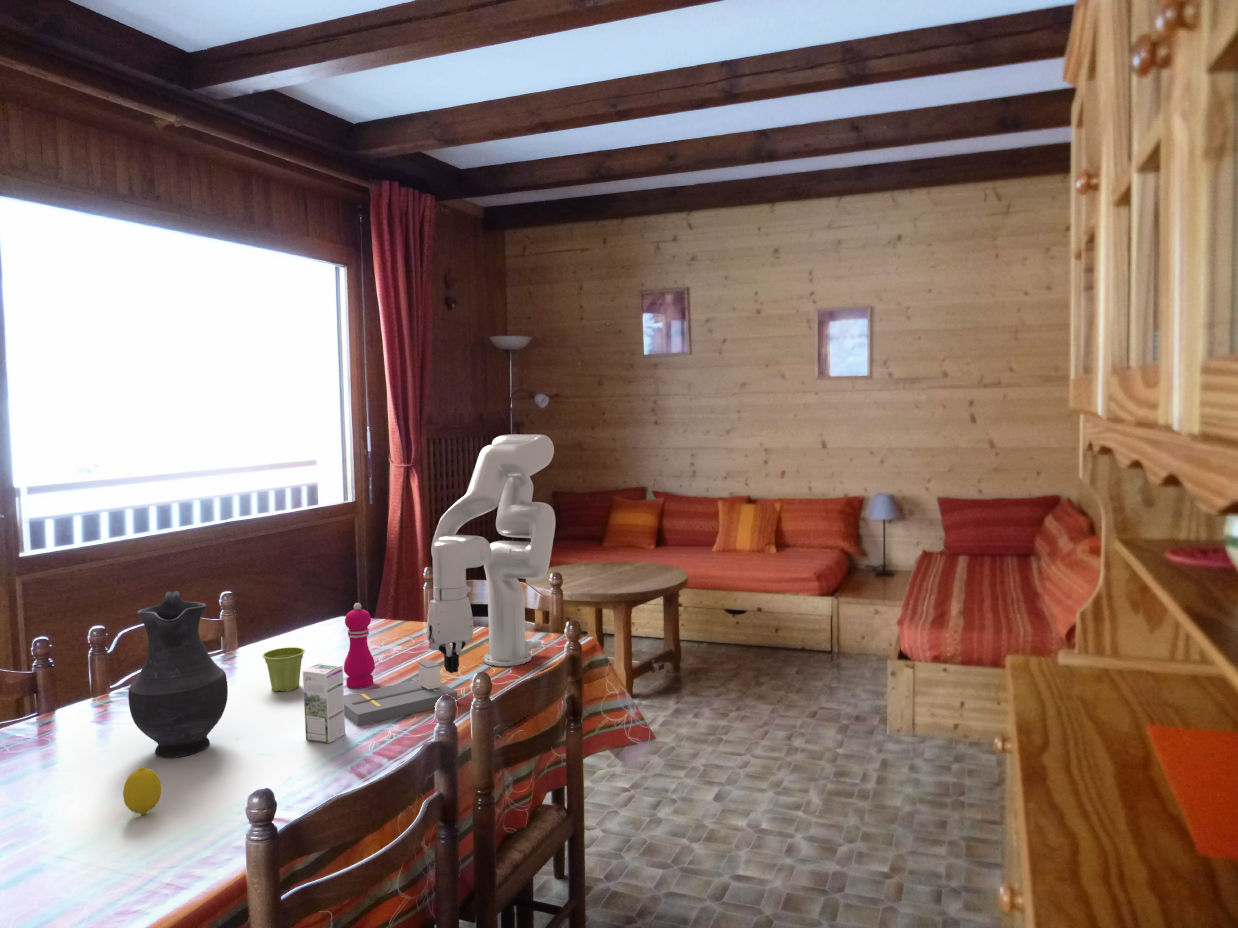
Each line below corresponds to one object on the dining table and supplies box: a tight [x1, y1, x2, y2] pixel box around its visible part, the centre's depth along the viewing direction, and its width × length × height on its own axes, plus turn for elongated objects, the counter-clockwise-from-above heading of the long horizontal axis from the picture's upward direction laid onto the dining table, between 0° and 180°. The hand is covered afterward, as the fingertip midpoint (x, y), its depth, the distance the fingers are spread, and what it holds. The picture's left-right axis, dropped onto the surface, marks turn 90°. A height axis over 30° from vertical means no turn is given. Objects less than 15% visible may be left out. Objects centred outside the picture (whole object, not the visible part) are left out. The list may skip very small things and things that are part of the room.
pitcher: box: [127, 591, 229, 759], centre depth 172 cm, size 17×21×30 cm
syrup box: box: [302, 663, 346, 744], centre depth 176 cm, size 6×6×14 cm
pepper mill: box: [343, 602, 376, 689], centre depth 209 cm, size 7×7×20 cm
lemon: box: [122, 766, 163, 816], centre depth 143 cm, size 6×6×8 cm
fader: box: [417, 659, 441, 690], centre depth 199 cm, size 3×5×5 cm, turn 37°
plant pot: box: [262, 646, 306, 692], centre depth 208 cm, size 9×9×9 cm
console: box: [344, 679, 459, 727], centre depth 195 cm, size 23×14×3 cm, turn 127°
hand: (451, 671), depth 202 cm, fingers closed
